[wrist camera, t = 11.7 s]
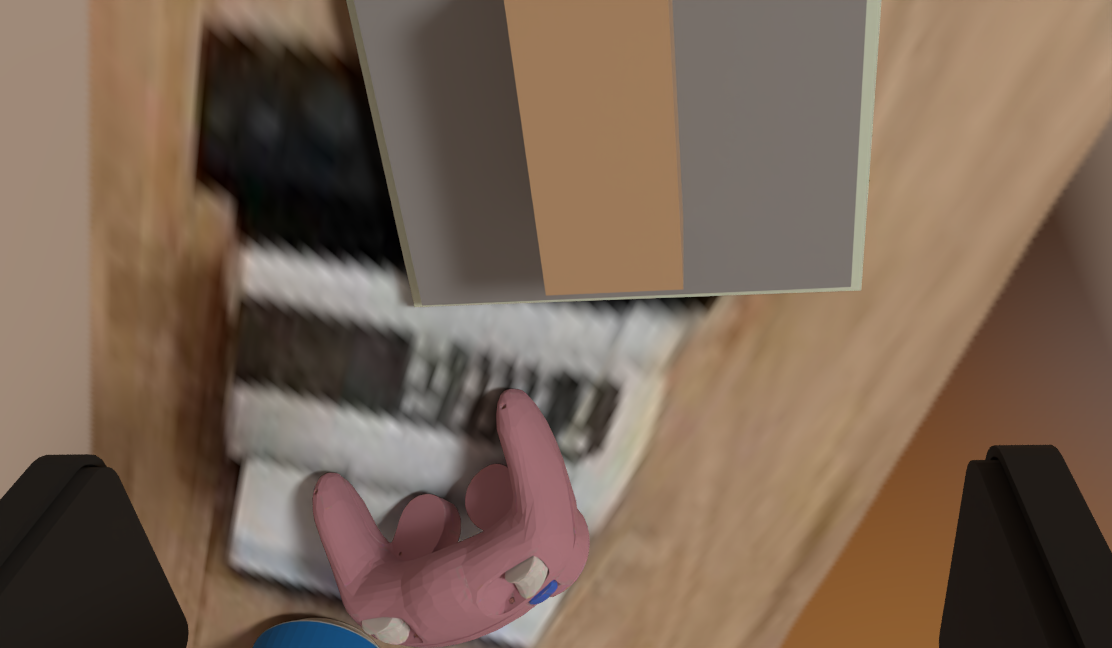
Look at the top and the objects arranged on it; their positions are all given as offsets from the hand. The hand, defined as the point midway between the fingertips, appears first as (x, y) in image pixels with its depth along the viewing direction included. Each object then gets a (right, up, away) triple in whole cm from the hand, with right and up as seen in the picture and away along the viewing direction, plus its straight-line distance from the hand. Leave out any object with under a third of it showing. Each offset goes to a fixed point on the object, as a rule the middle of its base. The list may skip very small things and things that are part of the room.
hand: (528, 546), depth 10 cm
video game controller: (-3, -3, +25) cm, 25 cm away
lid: (+2, +9, +15) cm, 18 cm away
